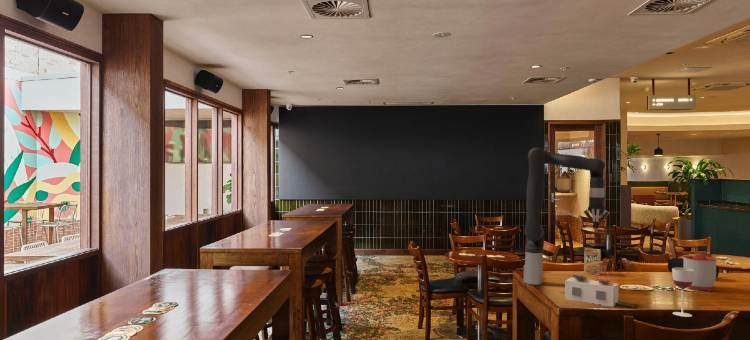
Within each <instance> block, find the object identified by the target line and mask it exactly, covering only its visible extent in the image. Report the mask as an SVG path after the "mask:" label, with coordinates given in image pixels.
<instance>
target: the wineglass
mask: <svg viewBox="0 0 750 340" xmlns="http://www.w3.org/2000/svg"><path fill="white" fill-rule="evenodd" d="M671 274H672V281H673V283H674V286H676V287H678V288H679V289H681V312H680V311H673V312H672V314H673V315H675V316H679V317H685V318H687V317H688V318H689V317H693V315H692V314H691V313H687V312H684V303H685V302H684V301H685V300H684V297H685V295H684V294H685V293H684V292H685V291H684V290H685V289H689V288H688V287H690V286H691V285H692V283H693V279H694V270H693V269H689V268H678V267H676V268H672V272H671Z"/></svg>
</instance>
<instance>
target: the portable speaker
mask: <svg viewBox="0 0 750 340" xmlns="http://www.w3.org/2000/svg"><path fill="white" fill-rule="evenodd" d="M676 267H678V268H683V267H684V258H680V257H679V258H678V257H673V258H670V259H669V260H668V262H667V269H668V272H670V273H672V268H676ZM719 273H720V267H719V266H718V265H717V264H716V280H717V279H718V277H719V275H720V274H719Z"/></svg>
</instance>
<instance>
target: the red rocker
mask: <svg viewBox="0 0 750 340" xmlns="http://www.w3.org/2000/svg"><path fill="white" fill-rule="evenodd" d="M596 281H599V283H603V284H608V283H611V279H606V278H599V277H598V278H596Z"/></svg>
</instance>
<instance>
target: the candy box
mask: <svg viewBox="0 0 750 340" xmlns="http://www.w3.org/2000/svg"><path fill="white" fill-rule="evenodd" d="M601 251H602V250H601V249H600V248H589V247H588V248H586V247H585V248H584V257H583V259H584V261H583V262H584V264H583V274H585V275H594V276H600V275H601V261H602V260H601V259H602V258H601V255H602V252H601Z"/></svg>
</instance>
